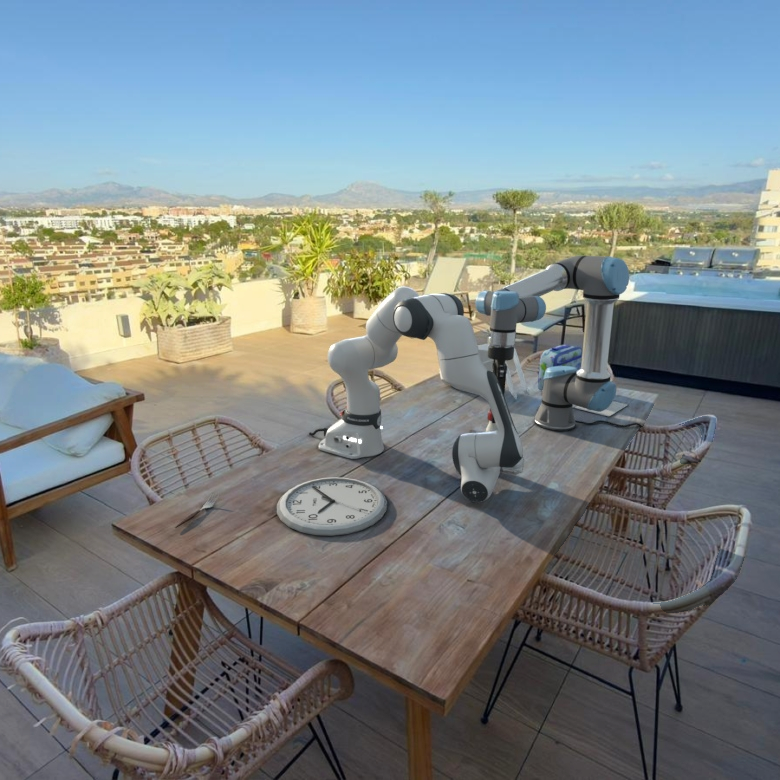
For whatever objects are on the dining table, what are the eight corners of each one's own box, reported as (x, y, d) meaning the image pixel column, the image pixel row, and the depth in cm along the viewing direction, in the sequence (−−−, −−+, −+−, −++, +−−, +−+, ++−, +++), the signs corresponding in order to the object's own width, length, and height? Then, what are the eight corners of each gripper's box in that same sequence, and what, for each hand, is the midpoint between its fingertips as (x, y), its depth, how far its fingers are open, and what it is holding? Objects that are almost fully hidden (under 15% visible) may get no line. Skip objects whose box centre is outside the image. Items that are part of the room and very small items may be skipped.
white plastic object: (461, 429, 252) (437, 405, 227) (444, 352, 274) (420, 323, 250) (535, 404, 240) (518, 377, 215) (510, 326, 262) (492, 293, 237)
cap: (505, 418, 161) (506, 411, 160) (499, 423, 157) (499, 415, 156) (491, 415, 163) (492, 408, 163) (485, 420, 160) (485, 412, 159)
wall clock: (392, 527, 129) (268, 531, 127) (391, 533, 130) (269, 537, 127) (383, 473, 158) (282, 475, 155) (383, 478, 158) (282, 480, 156)
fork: (171, 528, 130) (170, 521, 130) (212, 499, 145) (211, 492, 144) (179, 530, 129) (178, 523, 129) (220, 500, 144) (219, 494, 143)
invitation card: (608, 416, 214) (573, 407, 224) (608, 416, 214) (573, 408, 224) (628, 404, 229) (594, 396, 238) (628, 405, 229) (594, 397, 238)
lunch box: (554, 397, 237) (559, 352, 231) (533, 392, 244) (538, 348, 238) (581, 386, 255) (586, 344, 248) (560, 381, 262) (565, 340, 256)
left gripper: (522, 463, 147) (527, 445, 160) (451, 452, 154) (462, 435, 166) (520, 483, 149) (526, 464, 162) (450, 471, 156) (461, 454, 168)
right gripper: (486, 337, 163) (481, 407, 170) (491, 352, 144) (485, 429, 151) (510, 338, 162) (504, 408, 169) (518, 353, 143) (511, 431, 150)
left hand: (493, 449), depth 164 cm, fingers closed on bottle, 5 cm apart
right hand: (495, 418), depth 160 cm, fingers open, 7 cm apart
